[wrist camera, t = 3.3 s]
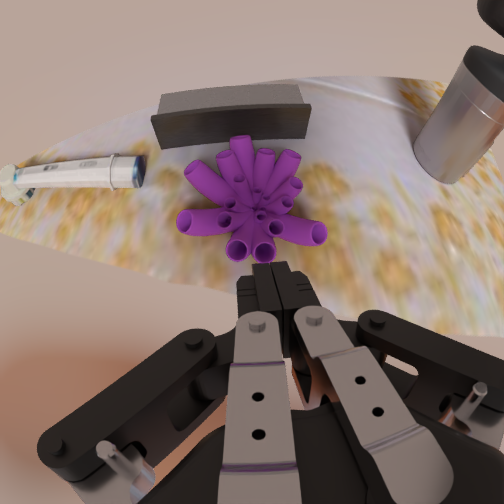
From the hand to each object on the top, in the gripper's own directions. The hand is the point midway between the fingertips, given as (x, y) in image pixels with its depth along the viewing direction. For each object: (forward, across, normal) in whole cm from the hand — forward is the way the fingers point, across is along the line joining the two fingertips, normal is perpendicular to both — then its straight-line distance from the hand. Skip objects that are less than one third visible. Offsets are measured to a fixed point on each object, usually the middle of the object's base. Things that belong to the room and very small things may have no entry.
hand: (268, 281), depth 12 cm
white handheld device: (+25, +25, -2) cm, 35 cm away
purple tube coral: (+20, 0, +3) cm, 20 cm away
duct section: (+29, +1, -8) cm, 30 cm away
